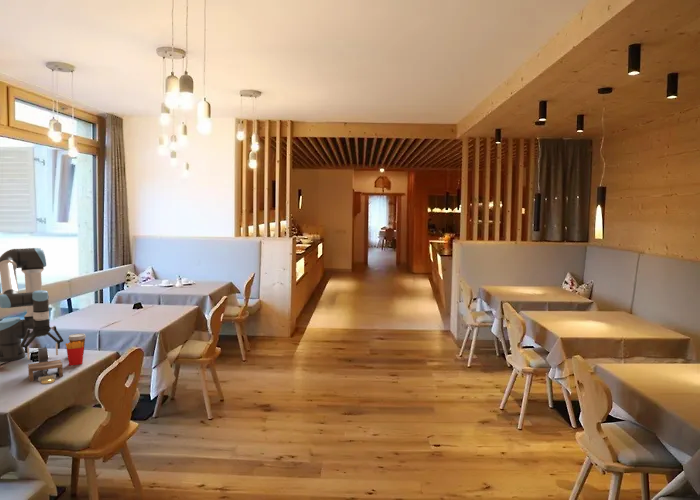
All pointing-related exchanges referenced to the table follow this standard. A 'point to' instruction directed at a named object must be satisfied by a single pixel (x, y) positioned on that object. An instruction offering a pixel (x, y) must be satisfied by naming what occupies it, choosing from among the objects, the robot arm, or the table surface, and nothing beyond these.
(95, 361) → the table surface
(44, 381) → the brass disc
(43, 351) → the steel scraper
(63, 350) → the table surface
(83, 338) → the disposable coffee cup
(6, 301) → the robot arm
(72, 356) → the french fries
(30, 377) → the walnut bench
